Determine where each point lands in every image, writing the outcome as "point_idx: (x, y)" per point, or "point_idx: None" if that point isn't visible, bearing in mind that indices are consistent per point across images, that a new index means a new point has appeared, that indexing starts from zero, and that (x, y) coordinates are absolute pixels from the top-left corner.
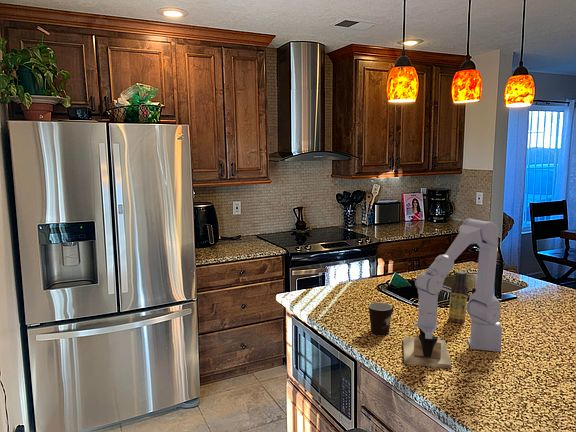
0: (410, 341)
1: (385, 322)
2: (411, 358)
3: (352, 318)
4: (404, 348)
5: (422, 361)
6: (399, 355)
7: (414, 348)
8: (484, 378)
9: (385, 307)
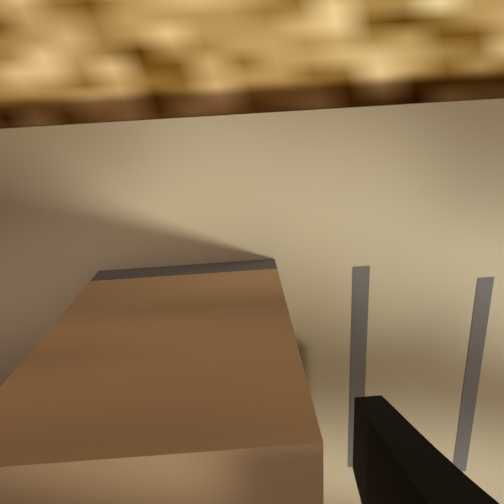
0: None
1: None
2: (30, 237)
3: None
4: (339, 121)
5: (5, 369)
6: (195, 51)
7: (47, 335)
8: None
9: None
